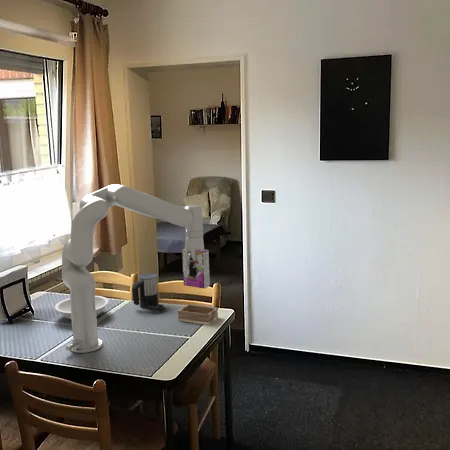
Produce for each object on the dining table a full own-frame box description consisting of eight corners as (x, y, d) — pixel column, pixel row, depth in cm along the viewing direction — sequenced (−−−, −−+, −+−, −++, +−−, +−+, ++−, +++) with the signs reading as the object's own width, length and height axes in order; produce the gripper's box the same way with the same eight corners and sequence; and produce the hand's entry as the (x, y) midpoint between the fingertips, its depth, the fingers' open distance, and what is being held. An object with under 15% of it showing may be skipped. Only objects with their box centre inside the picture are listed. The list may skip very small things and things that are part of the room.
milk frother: (146, 301, 263) (144, 272, 260) (174, 304, 257) (173, 274, 254) (130, 311, 250) (128, 280, 247) (160, 314, 244) (158, 283, 241)
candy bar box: (183, 285, 235) (181, 249, 232) (189, 282, 239) (187, 247, 236) (204, 289, 229) (202, 252, 226) (210, 286, 233) (209, 249, 230)
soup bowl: (102, 326, 232) (101, 312, 230) (48, 328, 232) (46, 313, 231) (115, 307, 255) (114, 294, 254) (65, 309, 256) (64, 295, 255)
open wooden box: (208, 324, 230) (208, 314, 229) (178, 320, 236) (177, 310, 235) (217, 317, 238) (217, 308, 237) (188, 313, 244) (187, 304, 243)
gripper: (195, 229, 239) (197, 268, 242) (176, 237, 223) (179, 279, 227) (210, 230, 235) (212, 270, 239) (192, 238, 220) (194, 280, 224)
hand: (196, 273), depth 233 cm, fingers closed on candy bar box, 5 cm apart
